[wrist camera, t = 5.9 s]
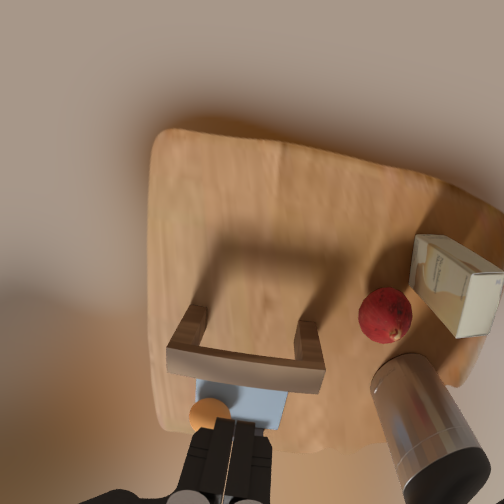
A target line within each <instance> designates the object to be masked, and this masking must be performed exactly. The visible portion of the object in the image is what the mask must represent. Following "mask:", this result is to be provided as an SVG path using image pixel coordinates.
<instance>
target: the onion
mask: <svg viewBox="0 0 504 504" xmlns="http://www.w3.org/2000/svg"><path fill="white" fill-rule="evenodd" d="M358 320H359V324H360V327H361V330H362V332H363V333H364V334H365V335H366V336H367V337H368V338H370V339H371V340H373V341H375V342H378V343H382V344H385V343H392V342H395V341H397V340H400V339H401V338H402V337H403V336H404V335H405V334H406V333H407V331H408V330H409V328H410V325H411V321H412V309H411V304H410V302H409V301H408V299H407V298H406V296H405V295H404V294H403V293H402V292H401V291H399V290H396V289H394V288H392V287H386V288H379V289H377V290H375V291H374V292H372V293H370V294H369V295H368V296H367V297H366V298H365V299H364V300H363V302H362V304H361V306H360V309H359V317H358Z"/></svg>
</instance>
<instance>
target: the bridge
mask: <svg viewBox="0 0 504 504" xmlns="http://www.w3.org/2000/svg"><path fill="white" fill-rule="evenodd" d="M206 316H207V307H201V306H196V305H190V306H189V308H188V309H187V311H186V313H185V315H184V316H183V318H182V320H181V322H180V324H179V325H178V327H177V329H176V331H175V333H174V334H173V336H172V338H171V340H170V342H169V343H168V345H167V347H166V361H167V373H171V374H176V375H181V376H186V377H191V378H196V379H201V380H207V381H213V382H218V383H225V384H231V385H237V386H244V387H251V388H259V389H267V390H276V391H285V392H295V393H306V394H318V393H319V390H320V387H321V384H322V381H323V378H324V375H325V372H326V368H325V363H324V359H323V354H322V349H321V345H320V340H319V336H318V331H317V327H316V323H315V322H307V321H298V325H297V330H296V334H295V339H294V352H295V360H291V359H283V358H274V357H266V356H259V355H252V354H245V353H238V352H231V351H225V350H219V349H213V348H207V347H201V346H199V345H200V342H201V340H202V337H203V335H204V332H205V329H206Z"/></svg>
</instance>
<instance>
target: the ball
mask: <svg viewBox="0 0 504 504" xmlns="http://www.w3.org/2000/svg"><path fill="white" fill-rule="evenodd" d="M217 417H221V418H227V419H231V414H230V411H229V409H228V407H227V406H226V405H225V404H224V403H223V402H222V401H220V400H218V399H215V398H205V399H201V400H199V401H198V402H196V403H195V404H194V405H193V406H192V408H191V410H190V414H189V420H190V423H191V426H192V427H193V429H194V430H195V431H196V432H197V431H198V430H199V429H200V428H201V427H204V428H209V429H214V426H215V421H216V418H217Z"/></svg>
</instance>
